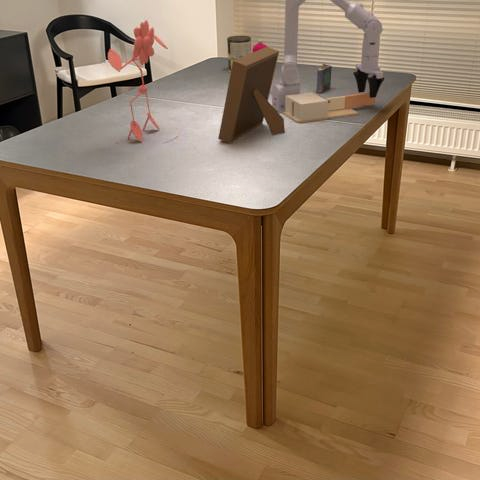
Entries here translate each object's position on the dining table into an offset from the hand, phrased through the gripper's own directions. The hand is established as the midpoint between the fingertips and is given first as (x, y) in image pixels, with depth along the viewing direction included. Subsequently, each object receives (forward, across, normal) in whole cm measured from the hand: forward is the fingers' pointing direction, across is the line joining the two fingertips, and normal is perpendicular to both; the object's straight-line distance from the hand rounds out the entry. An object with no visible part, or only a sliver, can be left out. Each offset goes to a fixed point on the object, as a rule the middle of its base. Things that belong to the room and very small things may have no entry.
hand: (367, 94), depth 216 cm
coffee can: (+5, +73, +20) cm, 76 cm away
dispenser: (+5, 0, +18) cm, 19 cm away
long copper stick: (+3, 0, +7) cm, 8 cm away
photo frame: (+5, -11, +47) cm, 48 cm away
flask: (+5, +27, +3) cm, 28 cm away
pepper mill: (+5, +35, +26) cm, 44 cm away
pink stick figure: (+5, +1, +77) cm, 77 cm away
